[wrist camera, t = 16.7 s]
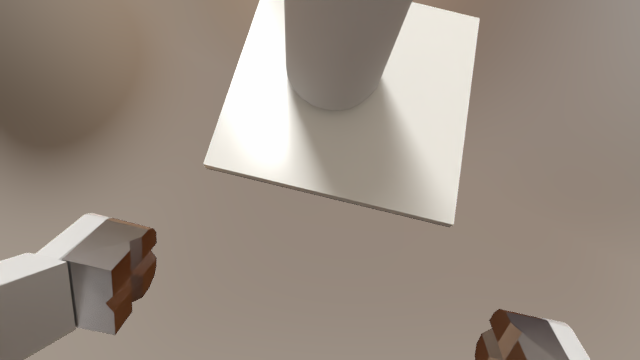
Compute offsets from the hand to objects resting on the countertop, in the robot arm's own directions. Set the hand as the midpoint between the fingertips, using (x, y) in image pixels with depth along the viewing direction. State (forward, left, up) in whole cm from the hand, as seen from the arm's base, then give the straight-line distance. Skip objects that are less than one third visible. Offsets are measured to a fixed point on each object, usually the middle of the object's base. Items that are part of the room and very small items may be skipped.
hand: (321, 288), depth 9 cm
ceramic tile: (+6, +9, -8) cm, 13 cm away
